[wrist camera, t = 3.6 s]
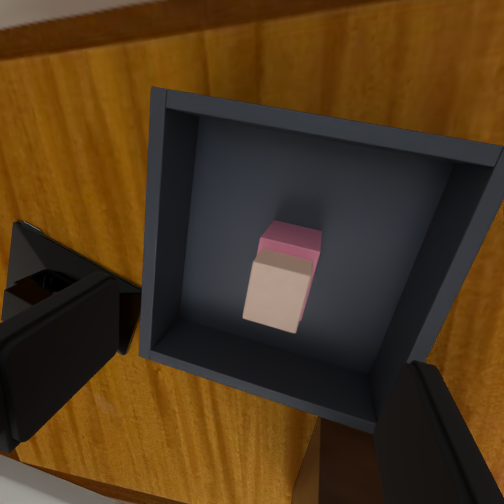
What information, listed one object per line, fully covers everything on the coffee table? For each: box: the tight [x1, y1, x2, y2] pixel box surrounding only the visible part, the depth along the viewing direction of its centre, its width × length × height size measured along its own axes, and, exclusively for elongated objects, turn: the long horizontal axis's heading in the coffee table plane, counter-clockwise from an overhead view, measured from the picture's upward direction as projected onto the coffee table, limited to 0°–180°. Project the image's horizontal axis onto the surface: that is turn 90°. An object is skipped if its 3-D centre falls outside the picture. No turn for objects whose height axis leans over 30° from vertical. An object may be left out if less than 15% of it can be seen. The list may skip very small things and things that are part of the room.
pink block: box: [242, 220, 322, 333], centre depth 16 cm, size 3×4×6 cm
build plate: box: [1, 221, 142, 355], centre depth 23 cm, size 12×7×5 cm, turn 66°
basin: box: [139, 87, 504, 434], centre depth 17 cm, size 16×16×5 cm
